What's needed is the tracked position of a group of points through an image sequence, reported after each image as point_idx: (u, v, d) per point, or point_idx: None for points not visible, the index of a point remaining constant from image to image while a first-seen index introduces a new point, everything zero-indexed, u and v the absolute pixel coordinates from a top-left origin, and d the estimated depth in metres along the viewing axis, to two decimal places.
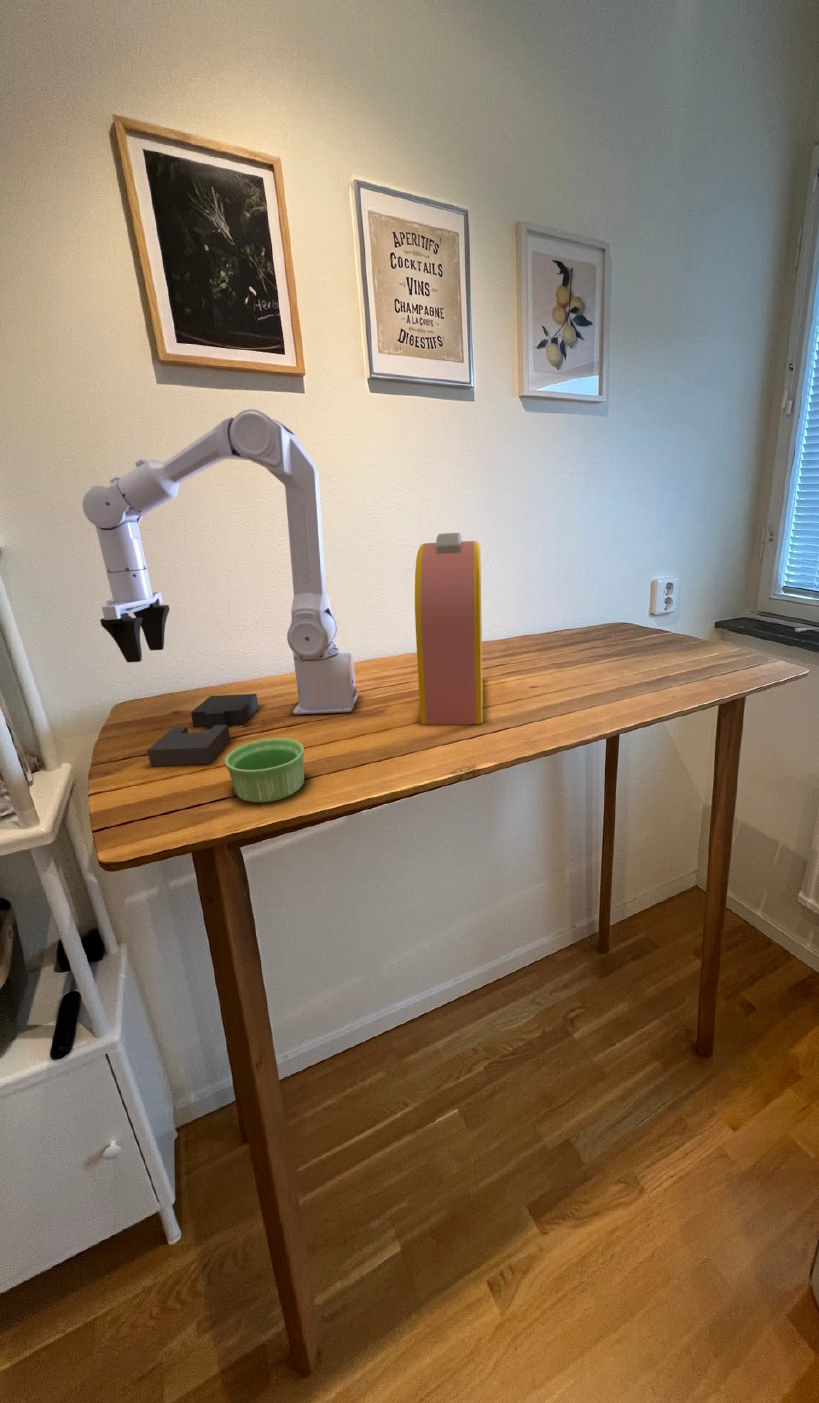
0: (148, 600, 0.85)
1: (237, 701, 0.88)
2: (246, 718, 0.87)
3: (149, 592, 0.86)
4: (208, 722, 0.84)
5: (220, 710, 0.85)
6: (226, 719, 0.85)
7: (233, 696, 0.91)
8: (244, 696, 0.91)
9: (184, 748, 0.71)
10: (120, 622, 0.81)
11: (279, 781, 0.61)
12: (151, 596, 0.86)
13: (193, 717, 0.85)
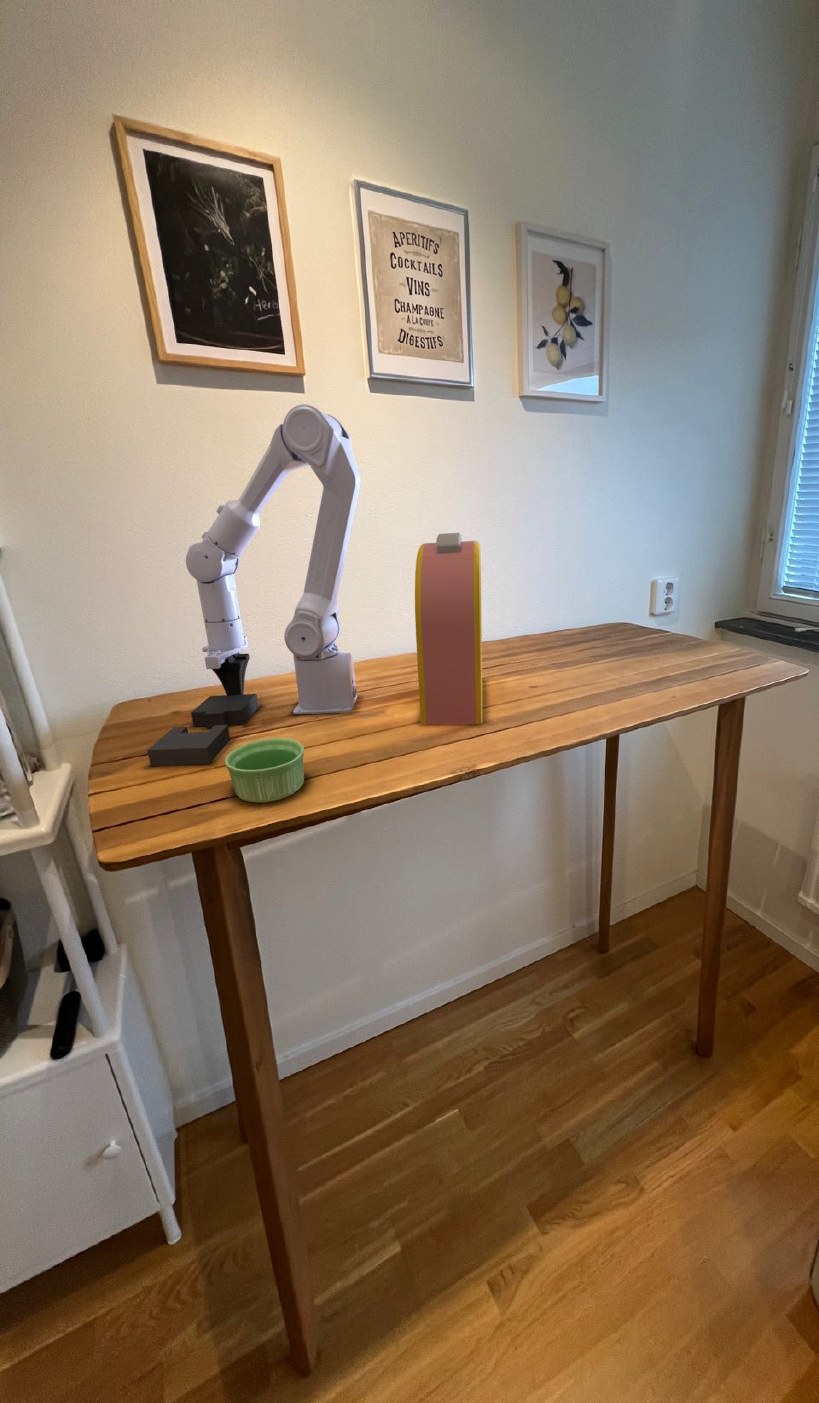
0: (242, 647, 0.89)
1: (237, 701, 0.88)
2: (246, 718, 0.87)
3: (243, 639, 0.90)
4: (208, 722, 0.84)
5: (220, 710, 0.85)
6: (226, 719, 0.85)
7: (233, 696, 0.91)
8: (244, 696, 0.91)
9: (184, 748, 0.71)
10: (227, 664, 0.89)
11: (279, 781, 0.61)
12: (244, 643, 0.90)
13: (193, 717, 0.85)
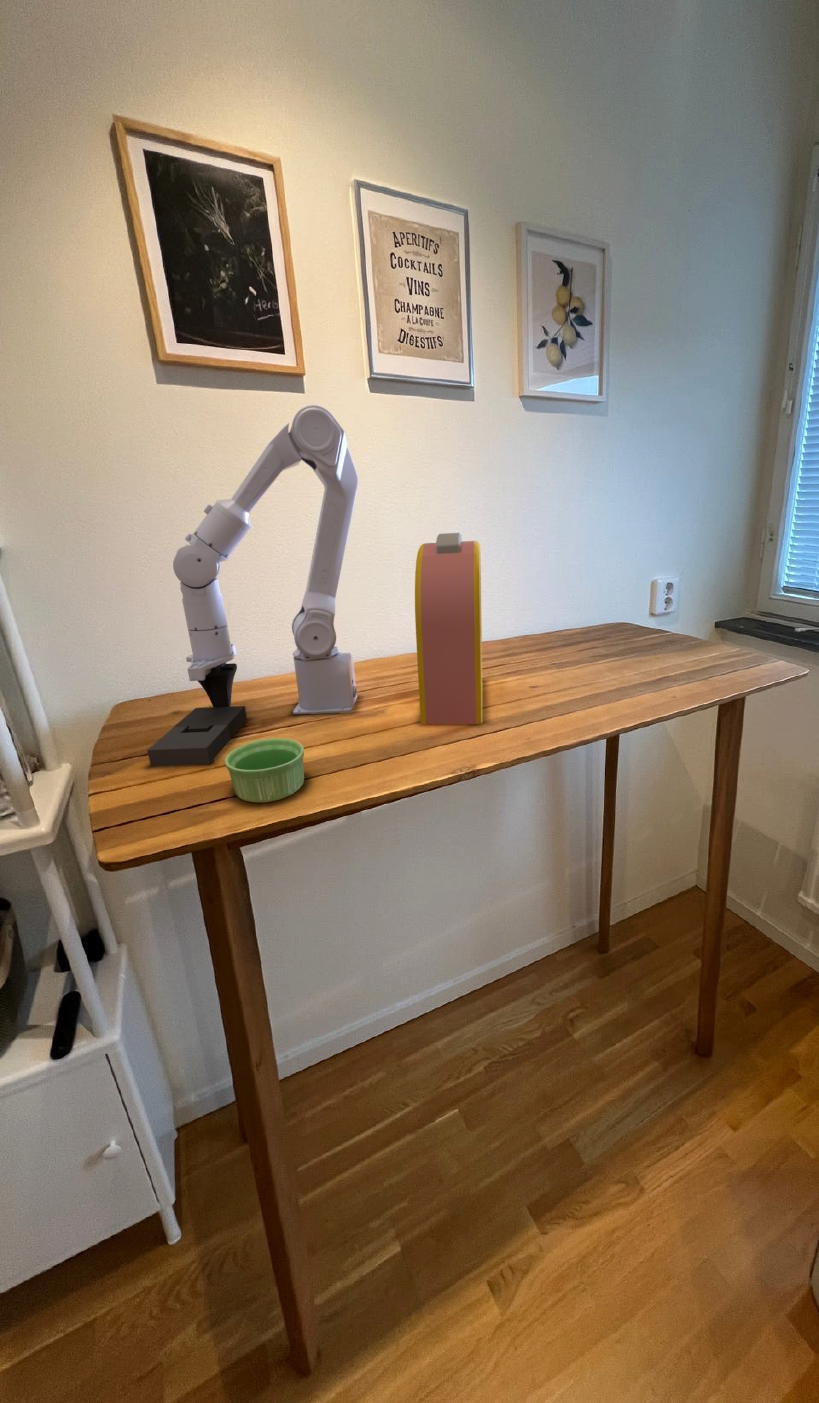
0: (229, 657, 0.83)
1: (223, 714, 0.83)
2: (233, 733, 0.81)
3: (229, 649, 0.84)
4: None
5: (205, 724, 0.79)
6: None
7: (220, 708, 0.86)
8: (232, 708, 0.85)
9: (184, 748, 0.71)
10: (213, 675, 0.83)
11: (279, 781, 0.61)
12: (231, 652, 0.85)
13: None
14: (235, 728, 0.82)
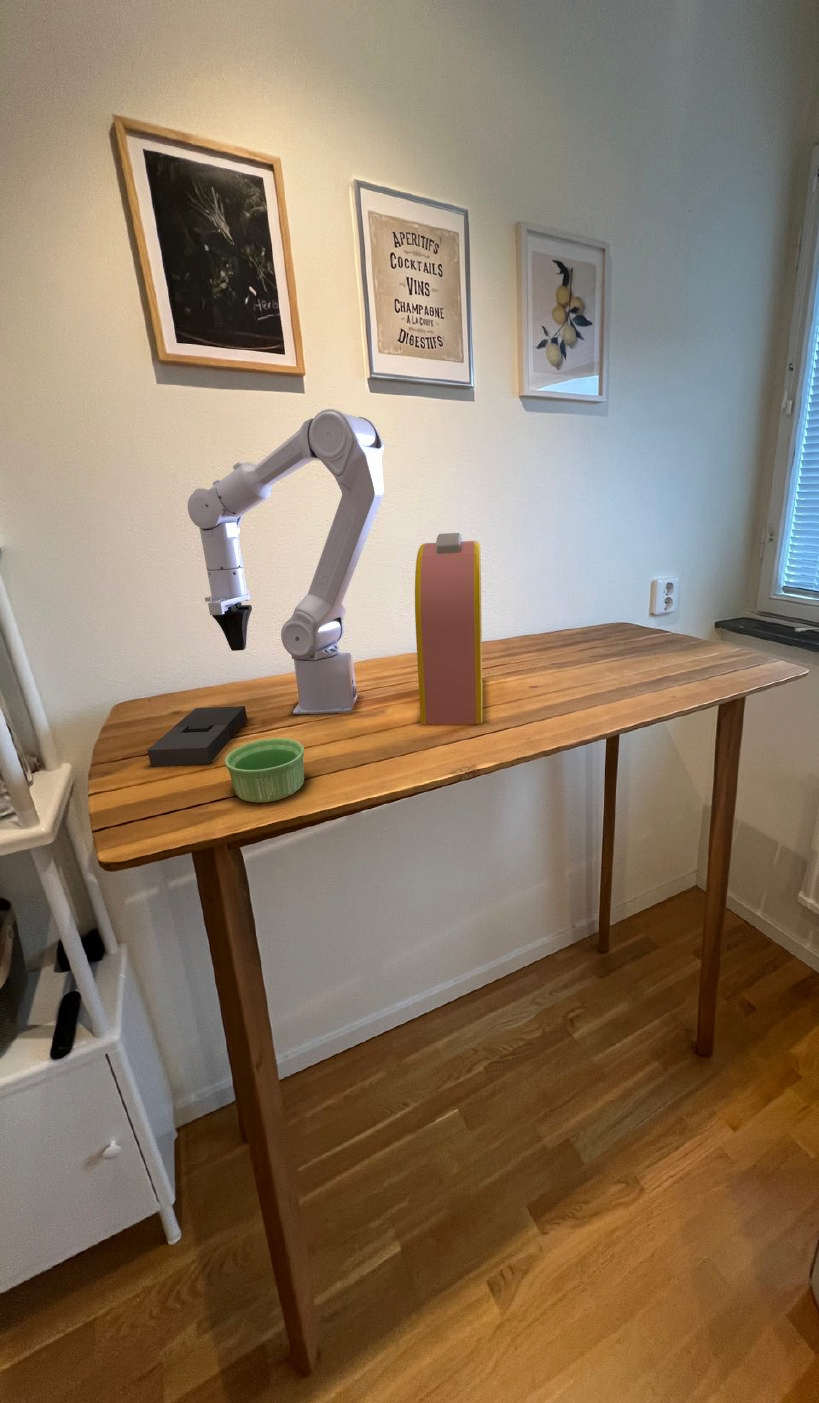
0: (245, 597, 0.90)
1: (223, 715, 0.83)
2: (233, 733, 0.81)
3: (245, 589, 0.90)
4: None
5: (205, 724, 0.79)
6: None
7: (220, 708, 0.86)
8: (232, 708, 0.85)
9: (184, 748, 0.71)
10: (230, 613, 0.89)
11: (279, 781, 0.61)
12: (246, 593, 0.91)
13: None
14: (235, 728, 0.82)
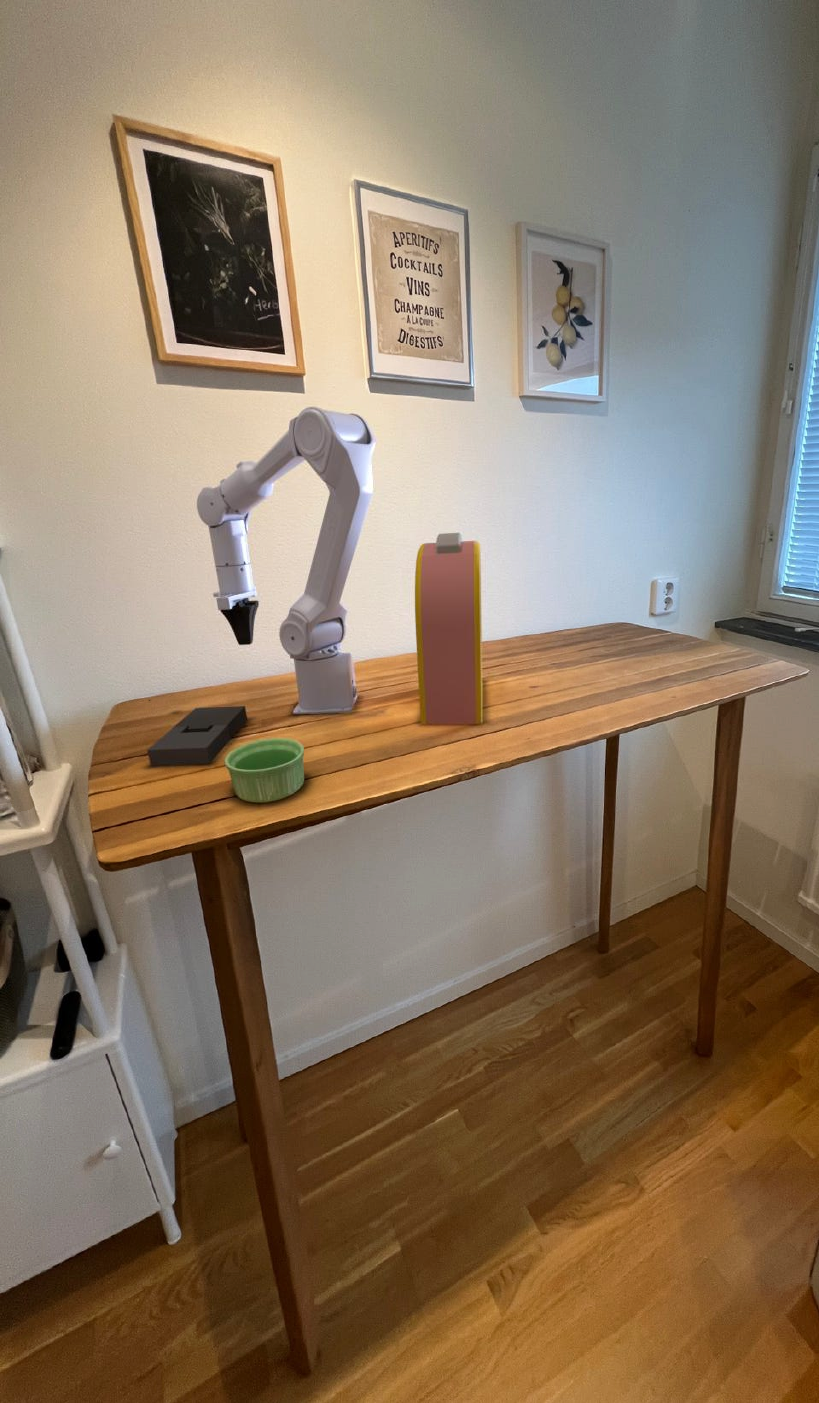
0: (252, 592, 0.92)
1: (223, 715, 0.83)
2: (233, 733, 0.81)
3: (252, 585, 0.93)
4: None
5: (205, 724, 0.79)
6: None
7: (220, 708, 0.86)
8: (232, 708, 0.85)
9: (184, 748, 0.71)
10: (238, 608, 0.92)
11: (279, 781, 0.61)
12: (253, 589, 0.93)
13: None
14: (235, 728, 0.82)
